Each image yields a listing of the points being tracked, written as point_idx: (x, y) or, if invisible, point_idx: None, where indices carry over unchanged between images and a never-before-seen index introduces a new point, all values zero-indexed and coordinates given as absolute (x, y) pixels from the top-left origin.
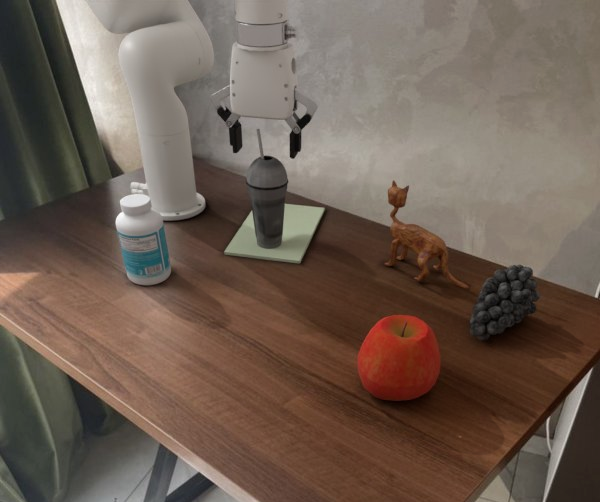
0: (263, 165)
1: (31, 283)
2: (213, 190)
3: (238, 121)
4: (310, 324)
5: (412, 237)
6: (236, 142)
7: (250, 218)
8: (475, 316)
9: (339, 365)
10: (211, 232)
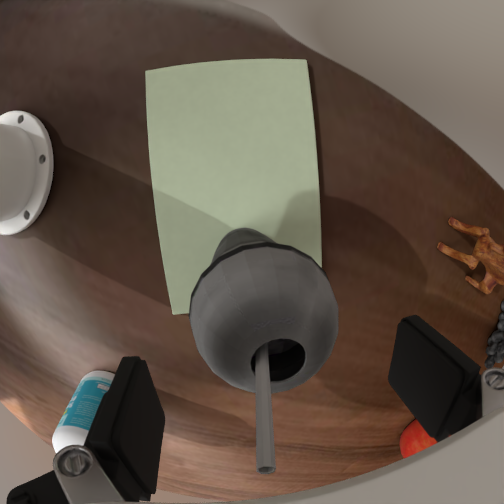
0: (278, 390)
1: (28, 415)
2: (45, 68)
3: (116, 473)
4: (356, 406)
5: (495, 271)
6: (160, 449)
7: (159, 158)
8: (495, 351)
9: (383, 431)
10: (106, 238)
